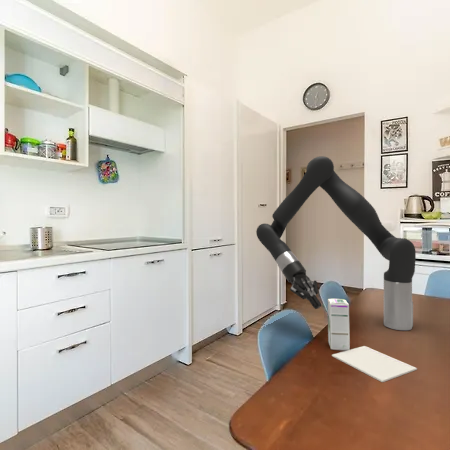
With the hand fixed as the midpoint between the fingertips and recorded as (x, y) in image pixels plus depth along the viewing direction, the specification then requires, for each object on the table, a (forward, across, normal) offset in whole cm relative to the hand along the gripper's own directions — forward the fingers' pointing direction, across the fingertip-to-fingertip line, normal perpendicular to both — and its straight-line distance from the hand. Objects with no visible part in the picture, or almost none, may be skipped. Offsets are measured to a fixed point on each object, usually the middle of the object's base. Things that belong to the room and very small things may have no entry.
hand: (318, 307), depth 99 cm
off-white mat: (+21, -2, -6) cm, 22 cm away
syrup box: (+13, 0, +3) cm, 13 cm away
